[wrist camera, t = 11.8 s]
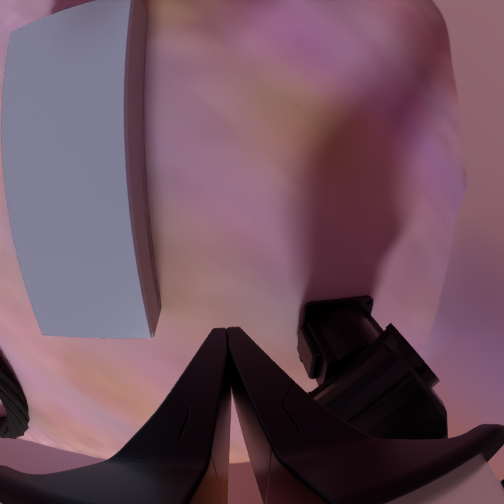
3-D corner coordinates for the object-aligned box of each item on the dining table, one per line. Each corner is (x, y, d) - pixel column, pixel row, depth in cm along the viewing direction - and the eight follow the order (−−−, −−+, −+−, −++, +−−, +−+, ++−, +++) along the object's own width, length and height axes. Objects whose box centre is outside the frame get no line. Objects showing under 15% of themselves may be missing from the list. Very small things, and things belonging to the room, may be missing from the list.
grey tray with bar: (147, 14, 15) (135, -9, 11) (161, 307, 23) (153, 336, 19) (43, 41, 14) (18, 29, 10) (67, 308, 22) (49, 333, 18)
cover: (134, -3, 11) (132, -9, 10) (152, 331, 19) (151, 338, 18) (16, 34, 10) (10, 32, 9) (46, 329, 18) (42, 335, 17)
